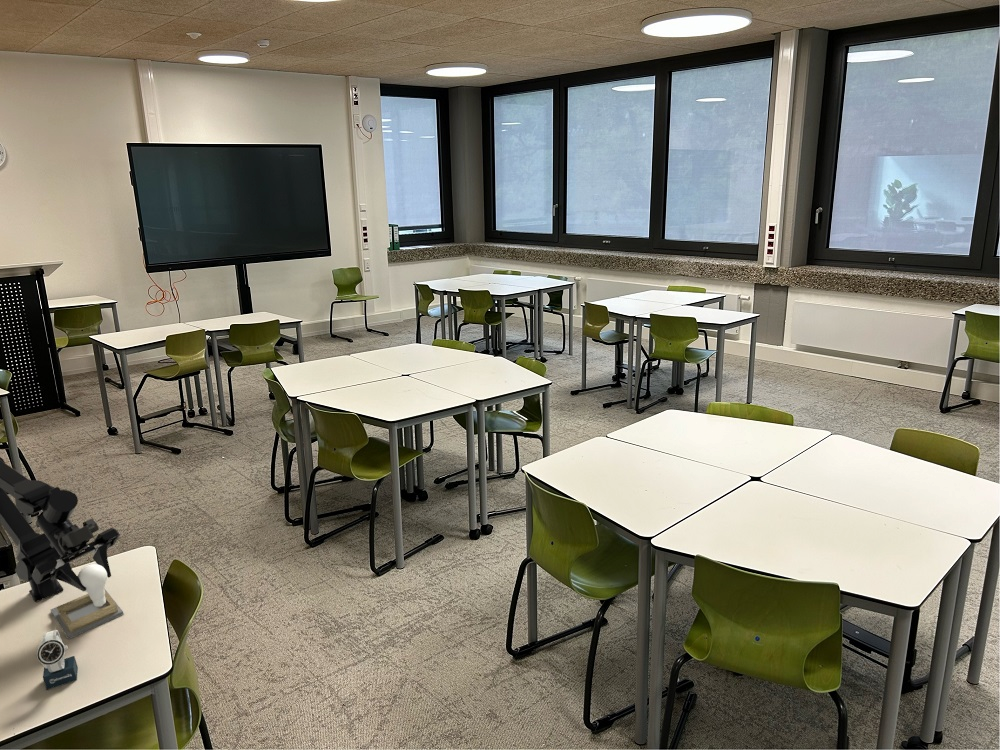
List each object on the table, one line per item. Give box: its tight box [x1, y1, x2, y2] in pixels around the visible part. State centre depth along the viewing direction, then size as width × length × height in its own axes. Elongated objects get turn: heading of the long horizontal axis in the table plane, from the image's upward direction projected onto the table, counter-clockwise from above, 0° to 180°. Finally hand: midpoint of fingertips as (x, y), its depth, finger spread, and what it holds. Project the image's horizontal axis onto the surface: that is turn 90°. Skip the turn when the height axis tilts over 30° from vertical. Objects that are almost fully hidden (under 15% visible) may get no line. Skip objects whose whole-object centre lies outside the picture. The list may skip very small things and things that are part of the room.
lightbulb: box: [77, 563, 108, 607], centre depth 166 cm, size 6×6×11 cm
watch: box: [36, 629, 79, 690], centre depth 148 cm, size 6×8×11 cm
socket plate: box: [50, 589, 124, 640], centre depth 171 cm, size 15×12×3 cm
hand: (97, 583), depth 165 cm, fingers closed on lightbulb, 6 cm apart
